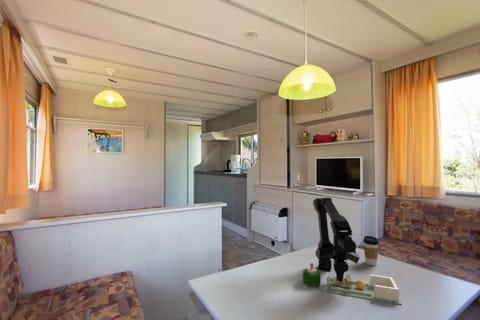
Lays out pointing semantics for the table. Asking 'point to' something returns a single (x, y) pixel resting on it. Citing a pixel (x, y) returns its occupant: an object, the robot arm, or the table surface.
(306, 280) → the candle
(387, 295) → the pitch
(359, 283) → the ball
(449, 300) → the table surface
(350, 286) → the kicker
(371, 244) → the coffee cup
